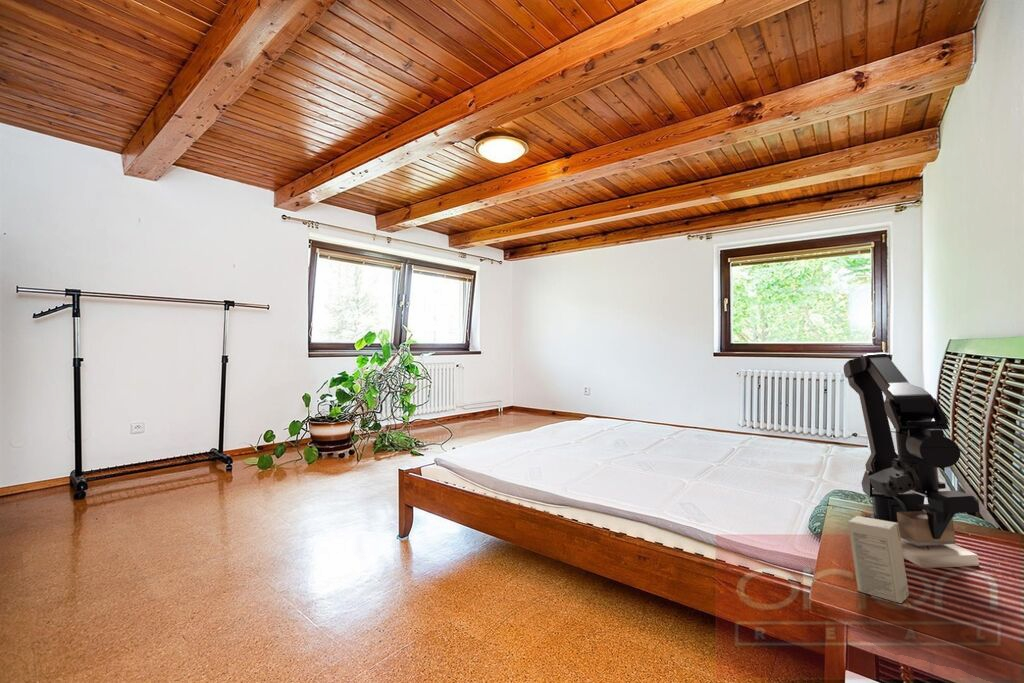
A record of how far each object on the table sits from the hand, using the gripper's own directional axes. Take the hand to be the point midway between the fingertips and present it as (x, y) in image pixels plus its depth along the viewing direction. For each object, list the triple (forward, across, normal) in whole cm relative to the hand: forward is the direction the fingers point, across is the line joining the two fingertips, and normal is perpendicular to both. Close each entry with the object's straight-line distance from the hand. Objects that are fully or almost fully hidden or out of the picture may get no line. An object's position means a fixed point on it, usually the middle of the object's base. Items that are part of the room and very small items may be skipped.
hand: (925, 534), depth 90 cm
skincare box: (+4, +13, -18) cm, 23 cm away
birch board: (+4, 0, 0) cm, 4 cm away
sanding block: (+1, 0, 0) cm, 1 cm away
